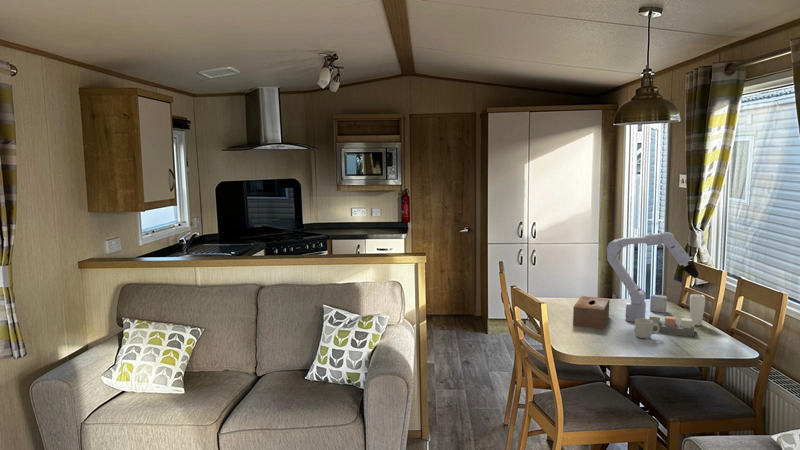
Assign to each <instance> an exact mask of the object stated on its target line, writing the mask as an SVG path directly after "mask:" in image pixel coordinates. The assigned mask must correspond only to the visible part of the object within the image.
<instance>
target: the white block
mask: <svg viewBox="0 0 800 450" xmlns="http://www.w3.org/2000/svg"><path fill="white" fill-rule="evenodd" d="M680 319H681V320H680V323H681V327H682V328H690V329H691V327H692V319H690V318H687V317H686V318H685V317H681V318H680Z"/></svg>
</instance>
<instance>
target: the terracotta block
mask: <svg viewBox="0 0 800 450" xmlns="http://www.w3.org/2000/svg"><path fill="white" fill-rule="evenodd" d="M664 318H665V319H664V321H665V325H666V326H674V327H675V325H676V323H677V320H676V319H677V317H676V316H668V315H666V316H665V317H664Z"/></svg>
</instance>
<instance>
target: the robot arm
mask: <svg viewBox="0 0 800 450" xmlns="http://www.w3.org/2000/svg"><path fill="white" fill-rule="evenodd" d="M637 244H639V245H640V244H645V245H647V246H656V245H657V246H659V245H664V246H665V247H666V248H667V250H668V251H669V252H670V253H671V255H672V256H673V257H674V259H675V261H677V263H678V264H679V266H682V268H681V270H682V271H684V272H686V273H687V274H688V275H689V276H691V277H692V278H693V279H696V278H698V277H699V271H698V270H697V267H696V265H695V263H694V261H695V260H694V259H693V258H694V257H693V256H689V254H688V253H687V252H686V250H685V249H684V248H683V247H682V245H681V244H680V243H679V242H678V241H677V239H676V238H675V236H674V234H673V233H672V232H669V231H665V232H662V231H661V232H659V233H653V232H648V233H646V234H645V236H637V237H636V236H635V237H634V236H633V237H622V238H621V237H620V238H616V239H615V238H614V239H613V240H612V241H610V242H609V243H608V244H607V246H606V256H607V262H608V263H609V265H610V267H611V268H612V269H613V271H614V272H615V274H616V275H617V277H618V278H619V280H620V281H621V282H622V283H623V285H624V287H625V288H626V290H627V293H628V295H629V297H630V300H631V301H630V302H626V305H625V321H626V322H627V321H628V322H632V323H633V322H634V323H635V319H640V318H642V319H647V317H646V306H647V304H646V302H645V300H646V299H647V293H646V291H645V290H644V289H642V288H640V286H639V285H637V283H636V282H635V280H634V279H633V278H632V276H630V273H629V272H628V271H627V269H626V267H625V266H624V265H623V264H622V262H621V261H620V259H619V258H620V257H619V256H620V253H621V252H622V250H623V248H625V247H627V246H629V245H637Z"/></svg>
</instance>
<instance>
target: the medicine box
mask: <svg viewBox="0 0 800 450" xmlns="http://www.w3.org/2000/svg"><path fill="white" fill-rule="evenodd" d="M649 306H650V307H649V311H650V312H653V313H654V312H656V313H664V314H666V313H667V306H668V296H666V295H661V294H660V295H659V294H651V295H650V305H649Z"/></svg>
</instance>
